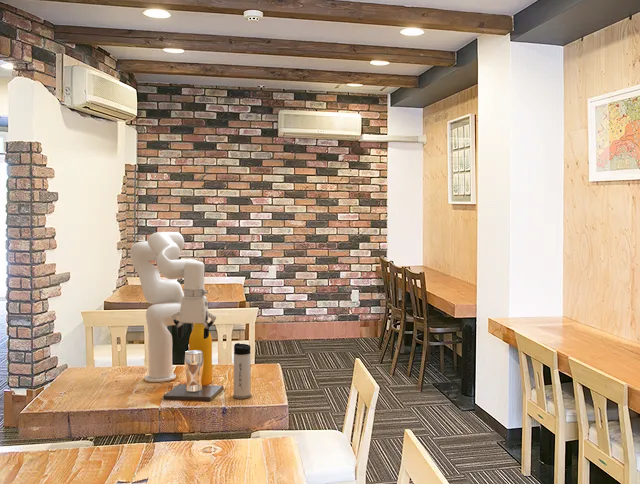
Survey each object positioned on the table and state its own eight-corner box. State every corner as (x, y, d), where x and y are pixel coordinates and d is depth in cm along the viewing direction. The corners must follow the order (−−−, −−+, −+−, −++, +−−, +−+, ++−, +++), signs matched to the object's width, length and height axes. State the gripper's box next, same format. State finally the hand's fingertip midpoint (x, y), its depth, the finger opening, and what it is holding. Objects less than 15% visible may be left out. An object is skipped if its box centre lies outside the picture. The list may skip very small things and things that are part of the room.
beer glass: (198, 393, 241) (198, 354, 241) (181, 392, 243) (181, 353, 242) (206, 388, 248) (206, 350, 248) (189, 387, 250) (189, 349, 249)
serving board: (179, 388, 254) (179, 384, 254) (223, 389, 253) (223, 385, 253) (163, 399, 238) (163, 395, 238) (210, 401, 237) (210, 397, 237)
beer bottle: (185, 382, 262) (185, 312, 262) (205, 379, 268) (205, 310, 268) (194, 387, 255) (194, 315, 254) (216, 383, 261) (216, 313, 260)
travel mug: (242, 393, 248) (242, 342, 247) (253, 396, 244) (254, 344, 243) (229, 396, 243) (229, 344, 242) (241, 400, 239) (241, 346, 238)
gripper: (219, 292, 248) (218, 336, 248) (175, 291, 249) (175, 334, 250) (213, 295, 240) (212, 340, 241) (168, 294, 241) (167, 338, 242)
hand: (193, 337), depth 245 cm, fingers open, 9 cm apart
